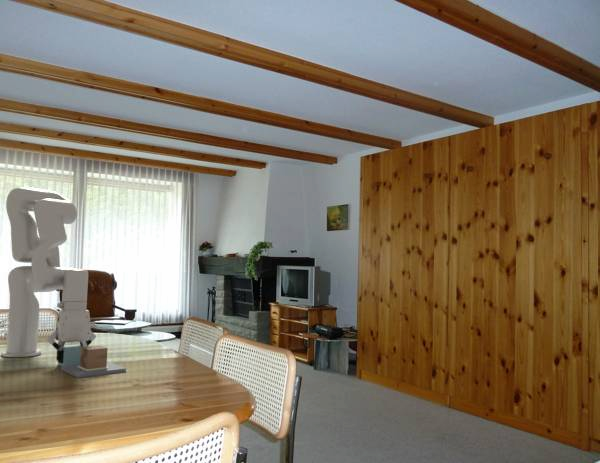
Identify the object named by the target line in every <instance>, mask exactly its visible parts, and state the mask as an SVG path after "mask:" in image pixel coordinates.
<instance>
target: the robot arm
mask: <svg viewBox="0 0 600 463" xmlns="http://www.w3.org/2000/svg"><path fill="white" fill-rule="evenodd" d="M5 202H6V204H5V206H6V208H5V209H6V213H7V217H8V220H9V224H10V238H11V239H10V241H11V255H12V258H13V260H14V261H15V262H17V263H24V264H25V263H27V264H28V263H29V264H30V263H31V264H30V265H21V266H16V267H14V268H13V269H11V270H10V271H9V273H8V275H7V276H8V277H7V282H8V291H9V306H8V307H9V309H8V311H9V312H8V325H7V340H6V349H5V350H2V351H1V352H0V353H1V356H2V357H5V358H28V357H35V356H40V355H41V354H42V350H41V349H40V348H37V347H38V335H39V333H38V332H39V316H40V315H39V314H40V303H39V300H38V298H37V297H36V295H35V293H48V292H54V291H58V290H62V296H61V297H62V300H61V301H60V303H59V302H58V303H57V305H56V306H57V308H60V309H61V310H59V312H58V315H57V319H56V325H55V331H53V333H52V334H51V335H50V336H48V337H47V339H46V341H47V342H48V343H49V344H50V345H51V346H52V347H53V348H55V350H56V361H57V363H58V362H59V363H63V355H64V351H63V347H64V345H66V343H73V342H74V343H75V342H79V345H81V346H83V347H86V346H90V344H92V342H93V341H94V340H95V339H96V338H97V336H96V334H95V333H94V332H93V331H92V329H91V317H90V314H91V313H90V310H88V309H87V304H88V289H89V288H88V287H89V286H88V285H89V272H88V270H87V269H84V268H75V267H61V260H60V256H61V255H60V248H59V246H62V245H63V244H64V243H66V241H67V239H68V237H67V232H66V227H65V225H71V224H73V223H74V222H76V220H77V218H78V211H77V208H76V205H75V204H74V203H73V201H71V200H70V199H68V198H66V196H63V195H62V194H60V193H58V192H57V191H53V190H47V189H39V188H34V187H27V186H26V187H23V186H22V187H19V186H18V187H15V188H13V189H11V190H10V191H9V193H8V194H7V198H6V200H5ZM29 212H33V213H34V217H33V216H32V215H31V214H30V213H29ZM55 340H56V341H58V342H56V341H55Z"/></svg>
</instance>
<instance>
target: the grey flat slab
mask: <svg viewBox="0 0 600 463" xmlns="http://www.w3.org/2000/svg"><path fill="white" fill-rule="evenodd" d="M59 369H60V371H62V372H64V373H66V374H69V375H71V376H72V377H75V378H77V379H79V378H87V377H94V376H95V377H96V376H102V375H111V374H118V373H126V372H127V368H126V367H123V366H121V365H118V364H115V363H113V362H111V361H108V360H107V367H104V368H96V369H88V370H87V369H85V368H83V367H81V366H80V364H77V365H68V366H60V368H59Z"/></svg>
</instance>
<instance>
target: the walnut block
mask: <svg viewBox="0 0 600 463" xmlns="http://www.w3.org/2000/svg"><path fill="white" fill-rule="evenodd" d="M108 348H109V347H106V346H102V345H98V344H97V345H88V346H86V347H81V355H80V366H81V367H83V368H85V369H87V370H88V369H96V368H104V367H107V361H108Z"/></svg>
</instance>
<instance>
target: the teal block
mask: <svg viewBox="0 0 600 463" xmlns="http://www.w3.org/2000/svg"><path fill="white" fill-rule="evenodd" d="M81 347H83V346H81V345H80V344H67V345H66V344H65V345H64V347H63V351H64V355H63V363H59V362H58V361H57V365H58V366H60V367H61V366H68V365H77V364H80V355H81Z"/></svg>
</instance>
